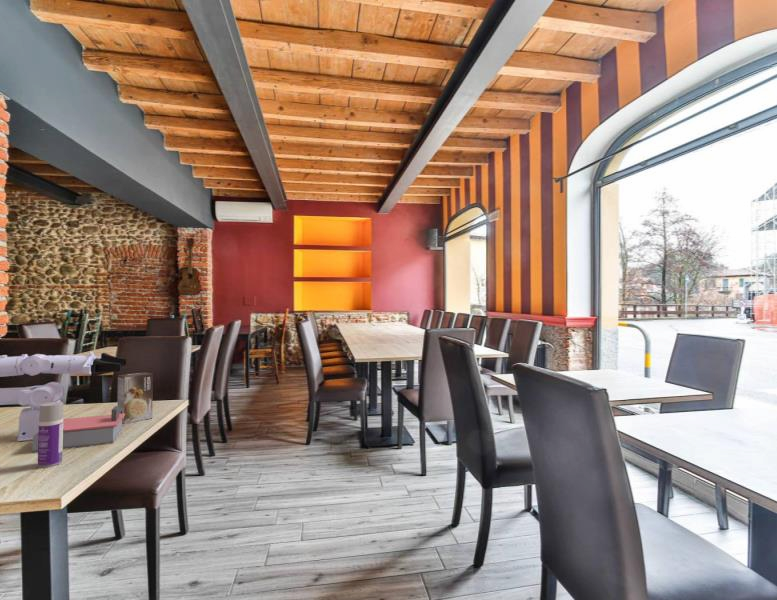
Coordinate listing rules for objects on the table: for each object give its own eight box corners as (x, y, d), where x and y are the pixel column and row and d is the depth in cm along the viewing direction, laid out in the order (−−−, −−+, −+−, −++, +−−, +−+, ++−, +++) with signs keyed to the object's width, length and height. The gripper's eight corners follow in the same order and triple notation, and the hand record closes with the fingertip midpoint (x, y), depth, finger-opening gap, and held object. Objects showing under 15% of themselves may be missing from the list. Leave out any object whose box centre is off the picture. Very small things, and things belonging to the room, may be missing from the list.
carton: (32, 452, 105) (33, 435, 105) (50, 437, 118) (51, 422, 118) (112, 443, 113) (113, 427, 113) (121, 429, 125) (122, 415, 126)
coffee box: (145, 415, 143) (146, 371, 143) (152, 418, 139) (153, 373, 139) (116, 421, 135) (117, 374, 136) (123, 424, 132) (124, 376, 132)
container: (34, 469, 94) (36, 406, 95) (40, 462, 98) (42, 402, 99) (59, 465, 96) (61, 404, 97) (64, 459, 100) (66, 400, 101)
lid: (37, 434, 106) (37, 419, 106) (54, 421, 118) (54, 408, 118) (116, 426, 113) (117, 412, 114) (125, 414, 126) (125, 402, 126)
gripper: (64, 356, 116) (118, 357, 121) (81, 347, 129) (129, 348, 134) (63, 379, 116) (117, 379, 121) (79, 368, 129) (127, 368, 135)
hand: (123, 364), depth 128 cm, fingers open, 7 cm apart
